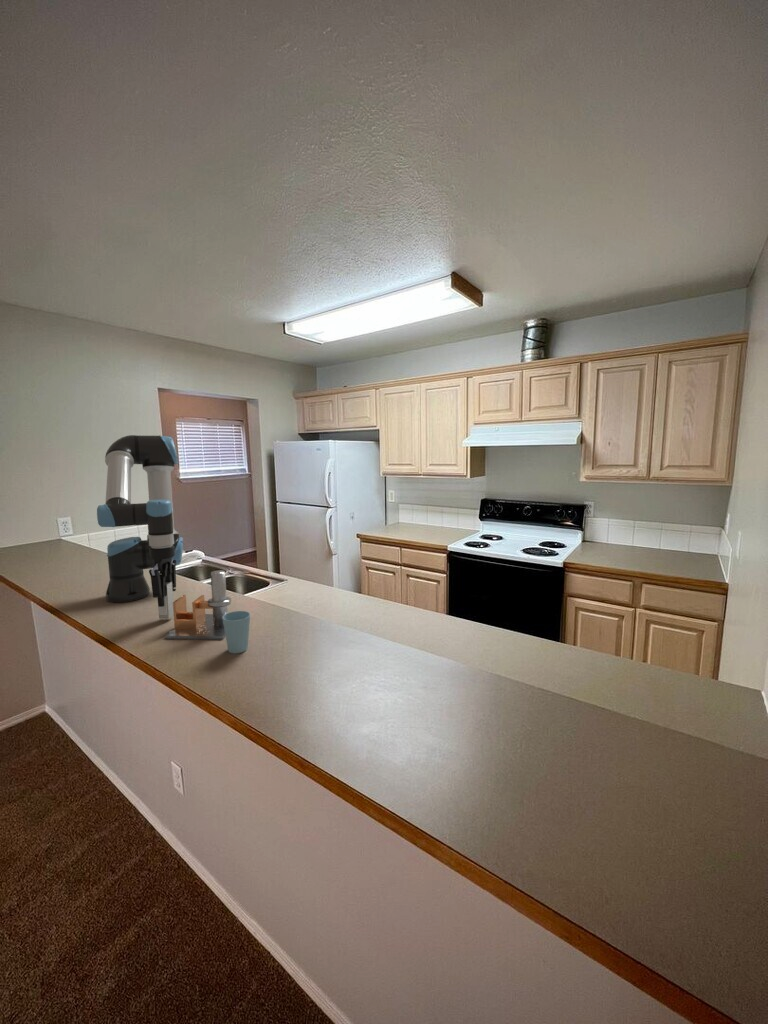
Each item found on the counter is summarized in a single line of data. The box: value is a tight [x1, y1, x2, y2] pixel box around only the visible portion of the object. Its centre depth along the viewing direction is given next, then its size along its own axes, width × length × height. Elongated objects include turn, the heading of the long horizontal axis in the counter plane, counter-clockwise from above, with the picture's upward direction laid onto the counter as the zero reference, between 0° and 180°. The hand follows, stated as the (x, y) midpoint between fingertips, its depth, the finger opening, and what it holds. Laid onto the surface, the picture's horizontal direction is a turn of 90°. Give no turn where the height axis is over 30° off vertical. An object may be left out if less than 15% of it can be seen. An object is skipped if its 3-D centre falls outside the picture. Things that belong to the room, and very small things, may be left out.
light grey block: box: [158, 582, 174, 620], centre depth 146 cm, size 3×3×12 cm
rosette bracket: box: [164, 569, 232, 640], centre depth 140 cm, size 18×18×19 cm
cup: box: [222, 610, 251, 654], centre depth 125 cm, size 8×8×10 cm
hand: (166, 612), depth 147 cm, fingers closed on light grey block, 3 cm apart
